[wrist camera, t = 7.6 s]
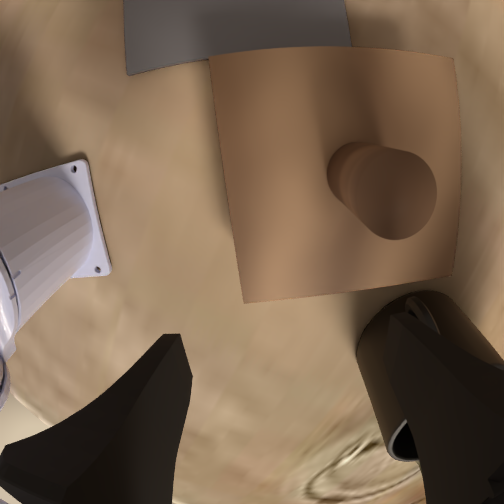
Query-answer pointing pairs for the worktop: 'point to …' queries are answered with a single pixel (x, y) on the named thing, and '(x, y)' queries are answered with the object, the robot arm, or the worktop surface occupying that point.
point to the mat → (225, 28)
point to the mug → (374, 372)
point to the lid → (338, 167)
